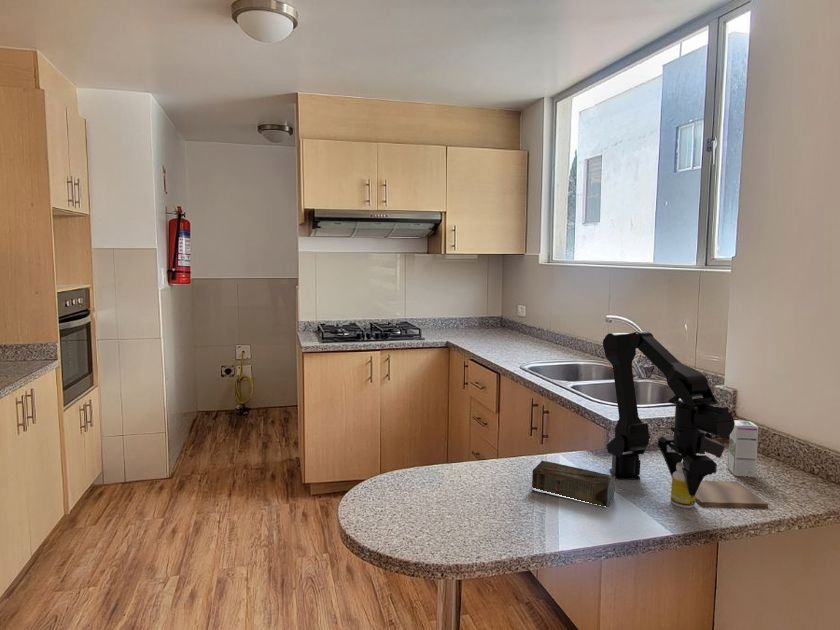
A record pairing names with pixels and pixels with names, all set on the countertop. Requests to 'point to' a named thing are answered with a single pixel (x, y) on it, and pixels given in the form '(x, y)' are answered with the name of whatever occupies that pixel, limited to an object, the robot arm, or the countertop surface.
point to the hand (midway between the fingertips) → (683, 487)
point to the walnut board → (727, 495)
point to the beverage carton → (574, 482)
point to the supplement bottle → (681, 489)
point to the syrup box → (743, 449)
